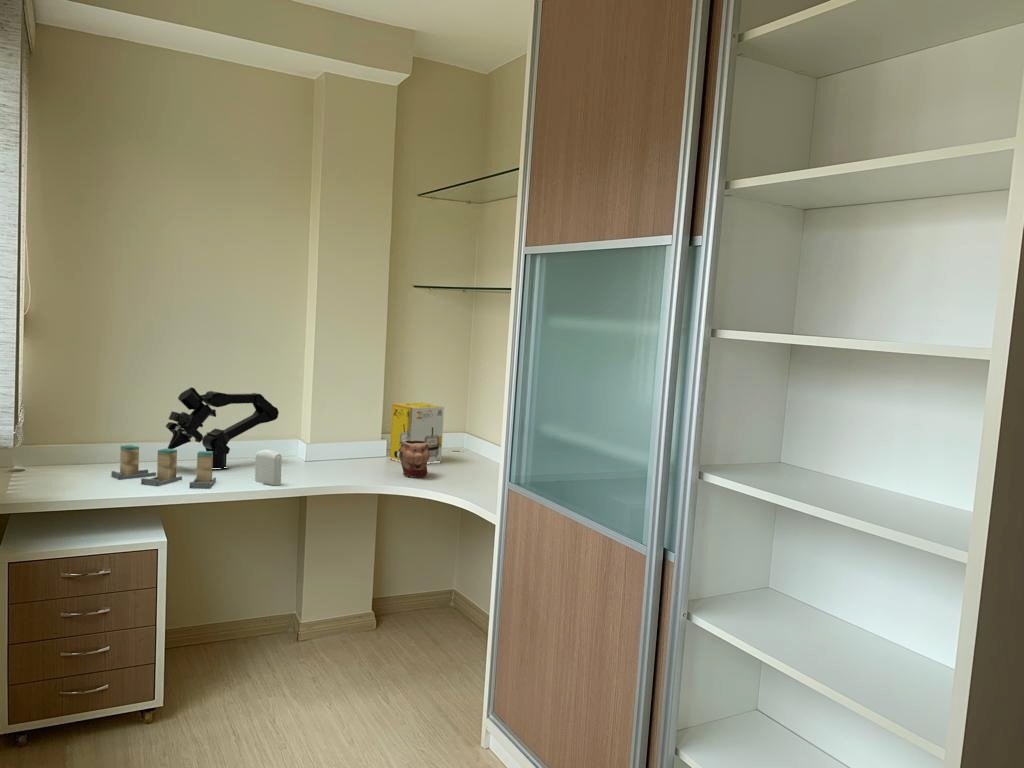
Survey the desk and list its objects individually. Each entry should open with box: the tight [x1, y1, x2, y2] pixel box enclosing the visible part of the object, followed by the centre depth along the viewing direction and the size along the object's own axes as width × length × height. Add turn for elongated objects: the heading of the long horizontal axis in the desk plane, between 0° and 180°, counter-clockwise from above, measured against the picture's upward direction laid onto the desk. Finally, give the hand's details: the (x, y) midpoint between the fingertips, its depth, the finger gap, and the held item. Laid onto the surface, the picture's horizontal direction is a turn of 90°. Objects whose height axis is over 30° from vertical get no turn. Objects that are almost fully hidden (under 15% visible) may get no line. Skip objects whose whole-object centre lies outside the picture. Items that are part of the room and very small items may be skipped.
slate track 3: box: [189, 476, 217, 490], centre depth 288 cm, size 13×7×2 cm, turn 12°
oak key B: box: [156, 448, 178, 481], centre depth 291 cm, size 4×4×11 cm
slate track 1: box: [111, 469, 157, 481], centre depth 295 cm, size 13×7×2 cm, turn 140°
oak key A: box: [119, 444, 140, 476], centre depth 293 cm, size 4×4×11 cm
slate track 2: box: [140, 475, 183, 487], centre depth 288 cm, size 13×7×2 cm, turn 166°
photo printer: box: [254, 449, 283, 486], centre depth 298 cm, size 10×4×12 cm, turn 63°
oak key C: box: [196, 450, 213, 482], centre depth 290 cm, size 4×4×11 cm
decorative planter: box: [399, 441, 430, 478], centre depth 330 cm, size 20×12×14 cm, turn 24°
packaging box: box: [389, 402, 445, 462], centre depth 360 cm, size 16×16×25 cm
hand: (168, 449), depth 304 cm, fingers closed
